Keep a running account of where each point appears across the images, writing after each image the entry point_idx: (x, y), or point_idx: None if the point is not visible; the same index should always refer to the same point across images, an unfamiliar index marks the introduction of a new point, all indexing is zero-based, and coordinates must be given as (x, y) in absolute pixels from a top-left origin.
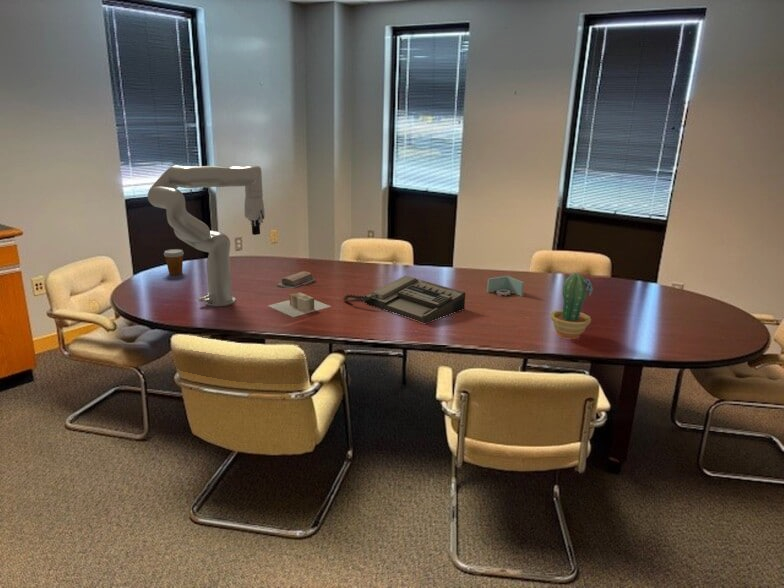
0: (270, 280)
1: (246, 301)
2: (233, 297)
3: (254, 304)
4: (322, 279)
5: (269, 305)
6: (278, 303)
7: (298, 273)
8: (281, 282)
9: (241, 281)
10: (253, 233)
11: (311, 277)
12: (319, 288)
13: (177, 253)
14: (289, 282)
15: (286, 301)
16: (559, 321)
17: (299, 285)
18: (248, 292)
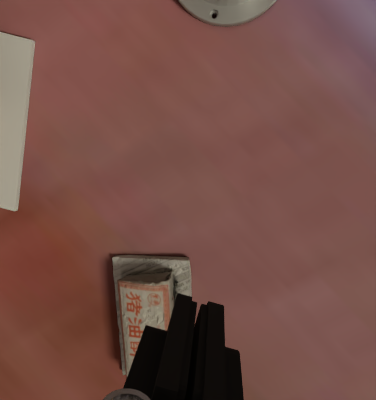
0: (263, 298)
1: (149, 40)
2: (206, 15)
3: (96, 31)
4: None
5: (27, 45)
6: (20, 87)
7: None
8: (188, 283)
9: (360, 230)
10: (189, 302)
11: None
12: (52, 311)
13: None
14: (135, 277)
15: (16, 124)
16: None
17: (117, 294)
18: (228, 135)
